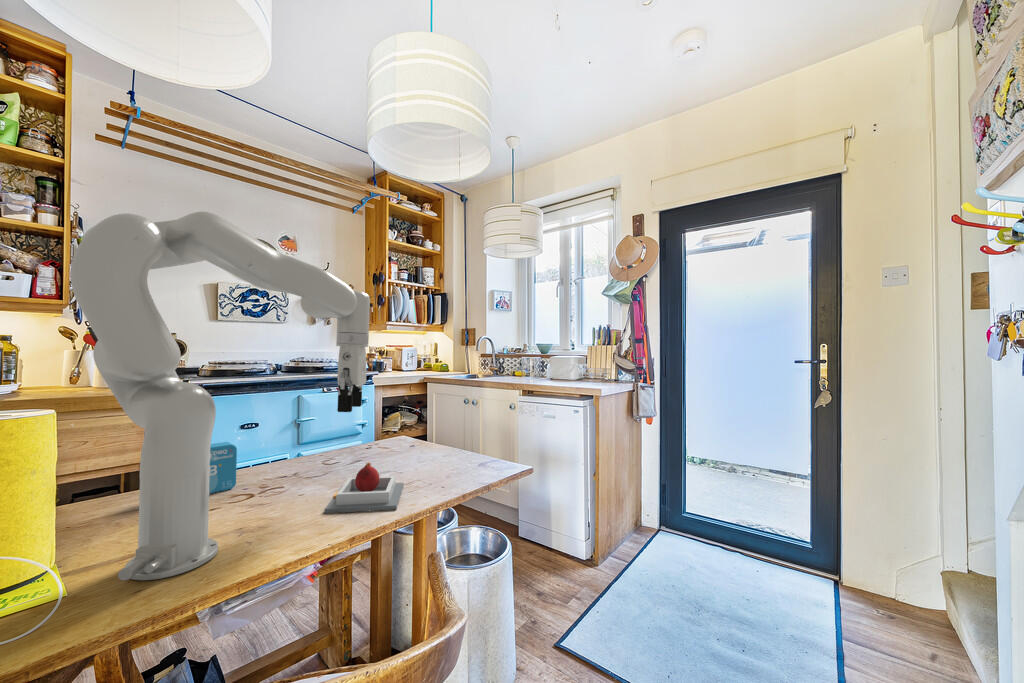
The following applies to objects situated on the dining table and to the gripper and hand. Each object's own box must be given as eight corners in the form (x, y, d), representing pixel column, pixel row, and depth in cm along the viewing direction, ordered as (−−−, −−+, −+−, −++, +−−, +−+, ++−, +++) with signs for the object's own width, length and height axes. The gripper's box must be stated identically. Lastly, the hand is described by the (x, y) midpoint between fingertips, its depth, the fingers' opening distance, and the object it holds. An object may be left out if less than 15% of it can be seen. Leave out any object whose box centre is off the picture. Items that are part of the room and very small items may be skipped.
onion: (374, 499, 98) (374, 466, 98) (350, 498, 98) (351, 465, 98) (382, 490, 104) (383, 459, 104) (360, 490, 104) (361, 459, 104)
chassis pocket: (396, 509, 94) (396, 494, 94) (324, 513, 92) (324, 498, 92) (403, 486, 110) (403, 473, 110) (342, 488, 108) (342, 475, 108)
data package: (178, 500, 98) (179, 451, 98) (175, 496, 101) (176, 448, 101) (236, 488, 107) (237, 443, 107) (231, 484, 110) (232, 440, 110)
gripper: (360, 340, 93) (357, 414, 92) (374, 342, 110) (372, 404, 109) (325, 339, 92) (322, 414, 91) (346, 341, 109) (343, 404, 108)
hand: (350, 409), depth 100 cm, fingers open, 9 cm apart
